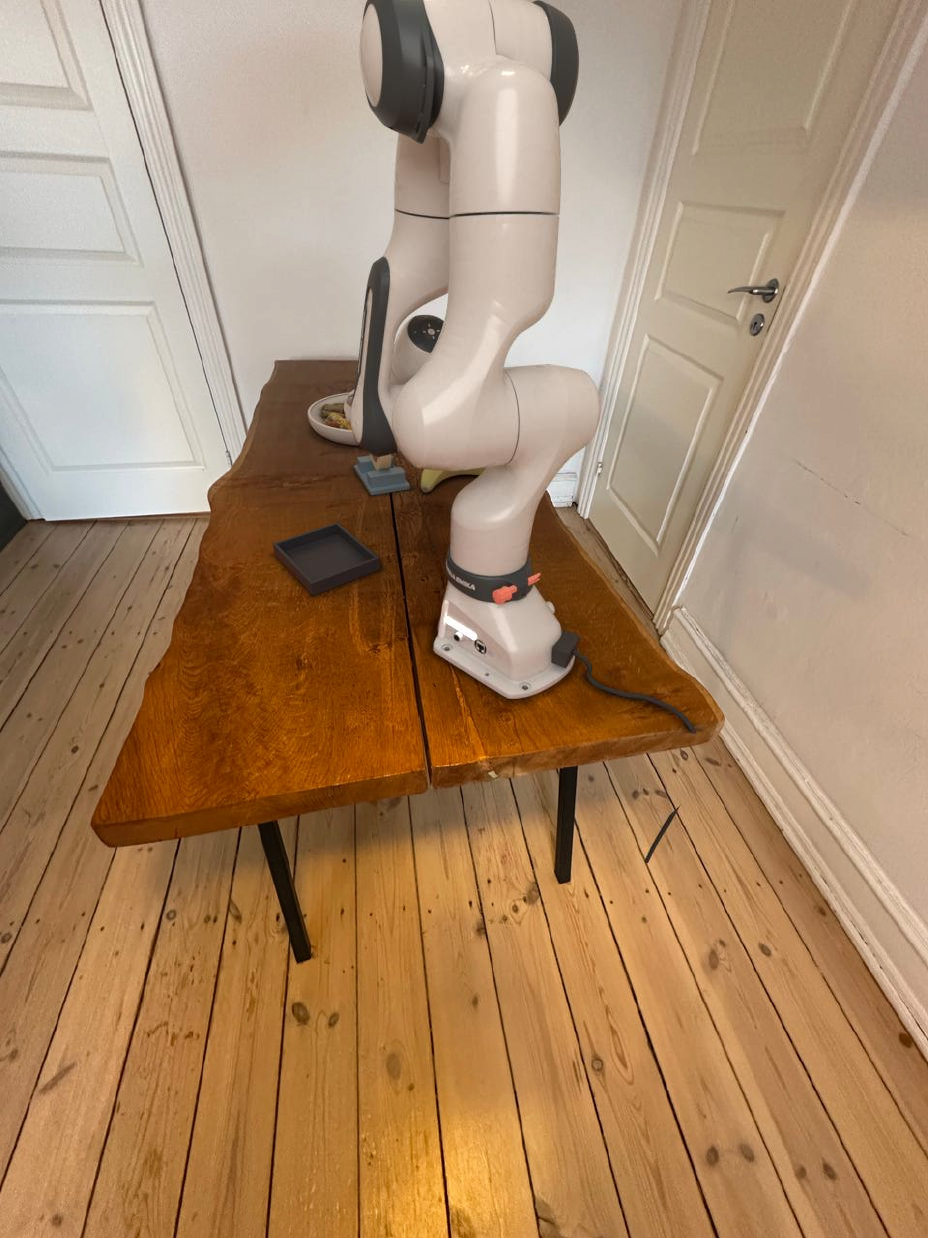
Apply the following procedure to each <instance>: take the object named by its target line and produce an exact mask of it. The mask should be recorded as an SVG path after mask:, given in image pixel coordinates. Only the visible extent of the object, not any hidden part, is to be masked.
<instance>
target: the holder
mask: <svg viewBox="0 0 928 1238" xmlns="http://www.w3.org/2000/svg"><path fill="white" fill-rule="evenodd" d="M356 462H357V464H354V465H353V470H354V471H355V472H356V475H357V476H358V477H359V479H360V481H361V482H362V484H363V485H364V487H365V488H366V490H367V491H368V493H369V494H370V496H377V495H383V494H388V493H395V492H401V491H407V490H411V485H410V483H409V482H408V480H407V479H406V471H405V470H404V469H403V467H402V466H396V465H395V457H394V455H393V454H391V466H390V468H389V469H382V470H376V469H375V467H374V465H373V462H372V459H371V456H370V455H364V456H357V457H356Z"/></svg>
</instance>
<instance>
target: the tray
mask: <svg viewBox="0 0 928 1238" xmlns="http://www.w3.org/2000/svg"><path fill="white" fill-rule="evenodd" d="M272 548H273V553H274V555H275V557H276V558H277V559H278V560H279V561H280V562H281V563H282V564H283V565H284V566H285V567H286V568H287V569H288V570H289V571H290V573H291V574H292V575H293V576H294V577H295V578H296V579H297V580H298V581H299V582H300V584H301V585H303V587H305V589H306V590H307V591H308V592H309V593H310V594H311V595H312V596H313V597H314V596H316V595H318V594H321V593H324V592H326V591H329V590H332V589H334V588H336V587H339V586H342V585H344V584H347V583H350V582H352V581H354V580H357V579H360V578H362V577H364V576H365V577H366V576H367V575H369V574H373V573H375V572H377V571H380V570H381V562H380V559H381V558H380V557H379V556H378V555H377V554H376V553H375V552H373V551H372V550H371V549H370V548H368V547H367V546H366V544H364V543H363V542H362V541H361V540H359V539H358V538H357V537H355V536H354V535H353V533H351V532H350V531H349V530H348V529H346V528H345V527H344V526H343V525H342V524H341V523H339V521H336V522H334V523H331V524H327V525H325V526H321V527H318V528H315V529H312V530H309V531H306V532H303V533H300V534H297V535H294V536H291V537H287V538H285V539H282V540H279V541H275V542H273V543H272Z"/></svg>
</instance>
